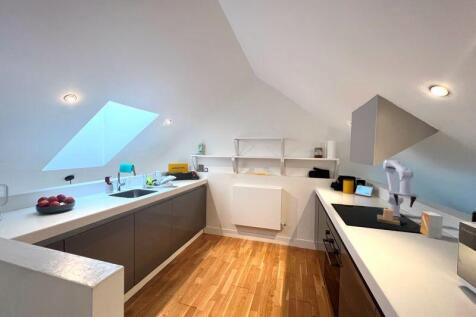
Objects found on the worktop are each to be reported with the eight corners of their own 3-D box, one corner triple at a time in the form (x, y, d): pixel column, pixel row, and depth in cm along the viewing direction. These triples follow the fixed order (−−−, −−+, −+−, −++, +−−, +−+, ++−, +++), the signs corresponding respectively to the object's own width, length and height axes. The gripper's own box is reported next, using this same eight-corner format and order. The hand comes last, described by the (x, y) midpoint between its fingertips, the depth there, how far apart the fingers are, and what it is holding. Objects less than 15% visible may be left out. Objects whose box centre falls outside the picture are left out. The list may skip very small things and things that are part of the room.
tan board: (377, 217, 151) (377, 214, 151) (397, 220, 145) (397, 217, 145) (377, 221, 141) (378, 218, 141) (399, 225, 135) (400, 222, 135)
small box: (419, 232, 124) (421, 210, 124) (432, 233, 122) (434, 212, 122) (427, 237, 116) (429, 214, 116) (441, 239, 115) (443, 216, 114)
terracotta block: (383, 216, 146) (383, 208, 146) (392, 218, 144) (392, 209, 144) (383, 218, 142) (384, 209, 142) (392, 219, 140) (393, 211, 139)
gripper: (392, 186, 144) (391, 205, 145) (419, 189, 137) (418, 209, 137) (391, 185, 150) (390, 203, 151) (417, 187, 143) (416, 207, 143)
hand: (403, 206), depth 144 cm, fingers open, 7 cm apart
